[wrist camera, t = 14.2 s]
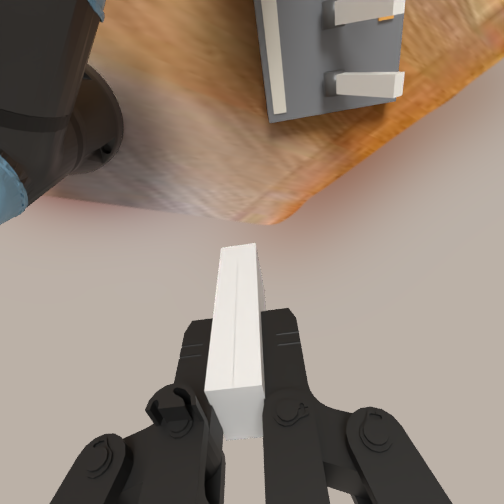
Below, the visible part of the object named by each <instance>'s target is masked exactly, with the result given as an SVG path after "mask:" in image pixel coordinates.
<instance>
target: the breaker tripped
mask: <svg viewBox="0 0 504 504" xmlns="http://www.w3.org/2000/svg"><path fill="white" fill-rule="evenodd" d="M404 8H405V0H327V1H323V2H322V30H327V29H332V28H337V27H342V26H345V24H347V23H353V22H358V21H364V20H369V19H375V18H381V17H386V16H392V15H397V14H402V13H404Z"/></svg>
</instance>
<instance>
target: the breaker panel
mask: <svg viewBox="0 0 504 504" xmlns="http://www.w3.org/2000/svg"><path fill="white" fill-rule="evenodd" d="M253 1H254V9H255V17H256V25H257V33H258V41H259V49H260V57H261V65H262V73H263V81H264V89H265V97H266V105H267V113H268V120H269V123H274V122H280V121H285V120H291V119H297V118H302V117H308V116H314V115H320V114H325V113H331V112H337V111H342V110H348V109H354V108H359V107H365V106H371V105H376V104H382V103H388V102H393V101H396V97H395V98H384V97H369V96H355V95H339V96H334V97H325V96H324V76H323V73H325V72H328V71H333V70H340V69H344V70H345V72H398V71H399V61H400V50H401V40H402V29H403V19H404V13H402V14H397V15H392V16H386V17H381V18H375V19H369V20H364V21H358V22H353V23H347V24H345V26H342V27H337V28H332V29H327V30H322V2H323V1H327V0H253Z"/></svg>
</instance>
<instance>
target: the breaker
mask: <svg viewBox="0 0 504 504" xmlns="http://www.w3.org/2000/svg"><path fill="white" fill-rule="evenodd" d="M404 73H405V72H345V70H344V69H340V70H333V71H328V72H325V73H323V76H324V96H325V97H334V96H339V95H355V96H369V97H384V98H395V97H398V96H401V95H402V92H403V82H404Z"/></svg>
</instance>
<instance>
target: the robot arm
mask: <svg viewBox="0 0 504 504" xmlns="http://www.w3.org/2000/svg"><path fill="white" fill-rule="evenodd" d="M105 2H106V0H0V225H1V224H2V223H4V222H6V221H8V220H10V219H11V218H13V217H16V216H18V215H20V214H21V213H22V212H24V211H25V208H26V207H28V206H29V205H30V204H32V203H33V202H34V201H35V200H37V199H38V198H39V197H40V196H42V195H43V194H44V193H45V192H47V191H48V190H49V189H50V188H52V187H53V186H54V185H56V184H57V183H58V182H59V181H61V180H62V179H63V178H64V177H66V176H67V175H74V174H83V173H88V172H92V171H94V170H96V169H98V168H100V167H102V166H103V165H104V164H106V163H107V162H108V161H109V160H110V159H111V158H112V157H113V156H114V155H115V154H116V152H117V150H118V149H119V147H120V144H121V141H122V136H123V120H122V114H121V111H120V107H119V104H118V102H117V100H116V98H115V96H114V94H113V92H112V90H111V89H110V87H109V86H108V84H107V83H106V82H105V80H104V79H103V78H102V77H101V76H100V75H99V74H98V73H97V72H96V71H95V70H94V69H93V68H92V67H91V66H90V65H88V64H87V62H88V58H89V55H90V52H91V48H92V45H93V42H94V38H95V35H96V32H97V29H98V25H99V22H103V21H104V17H105V16H104V12H103V10H104V6H105ZM145 411H146V413H147V414H148V415H149V417H150V418H151V420H152V421H153V423H154V424H153V425H151V426H149V427H147V428H146V429H143V430H141V431H139V432H137V433H135V434H133V435H130V436H128V437H126V438H124V439H122V438H121V437H120V436H118V435H116V434H104V435H102V436H99V437H97V438H95V439H94V440H93V441H91V442H90V443H89V444H88V445H86V447H85V448H84V449H83V450H82V452H81V453H80V454H79V456H78V457H77V459H76V460H75V462H74V464H73V466H72V467H71V469H70V471H69V472H68V474H67V475H66V477H65V479H64V480H63V482H62V484H61V486H60V487H59V489H58V491H57V492H56V494H55V496H54V497H53V499H52V501H51V502H50V504H224V485H225V464H226V463H225V456H224V453H223V451H222V444H223V434H224V436H225V438H226V440H236V439H246V438H257V437H263V447H264V473H265V498H266V504H330V501H329V495H328V489H327V487H331V488H333V489H337V490H340V491H343V492H346V493H349V494H351V496H352V499H353V501H354V503H355V504H452V502H451V501H450V499H449V498H448V496H447V495H446V493H445V492H444V490H443V489H442V487H441V485H440V484H439V482H438V481H437V479H436V478H435V476H434V475H433V473H432V472H431V470H430V469H429V467H428V466H427V464H426V463H425V461H424V460H423V458H422V456H421V455H420V453H419V452H418V450H417V449H416V447H415V446H414V445H413V443H412V441H411V440H410V438H409V437H408V435H407V434H406V432H405V430H404V429H403V427H402V426H401V425H400V424H399V422H398V421H397V420H396V419H395V418H394V417H393V416H392V415H390V414H389V413H387V412H385V411H384V410H382V409H378V408H373V407H366V408H360V409H358V410H357V411H355V412H354V413H349V412H344V411H340V410H336V409H332V408H330V407H327V406H325V405H324V404H322V403H320V402H319V401H318V400H317V399H316V398H315V397H314V396H313V394H312V393H311V391H310V389H309V386H308V382H307V376H306V371H305V365H304V359H303V354H302V348H301V343H300V338H299V331H298V326H297V320H296V317H295V316H294V315H293V313H292V312H291V311H290V309H289V308H284V309H276V310H268V311H266V306H265V292H264V285H263V280H262V275H261V269H260V265H259V259H258V253H257V248H256V244H255V243H252V244H245V245H239V246H231V247H224V248H221V254H220V264H219V271H218V279H217V288H216V296H215V306H214V313H213V318H212V319H204V320H196V321H192V322H191V324H190V325H189V327H188V329H187V330H186V332H185V333H184V338H183V343H182V348H181V352H180V359H179V362H178V367H177V371H176V377H175V381H174V384H170V385H167V386H165V387H163V388H162V389H160V390H159V391H157V392H156V393H155V394H154V396H153V397H152V398H151V399H150V400H149V402H148V404H147V407H146V409H145Z"/></svg>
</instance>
